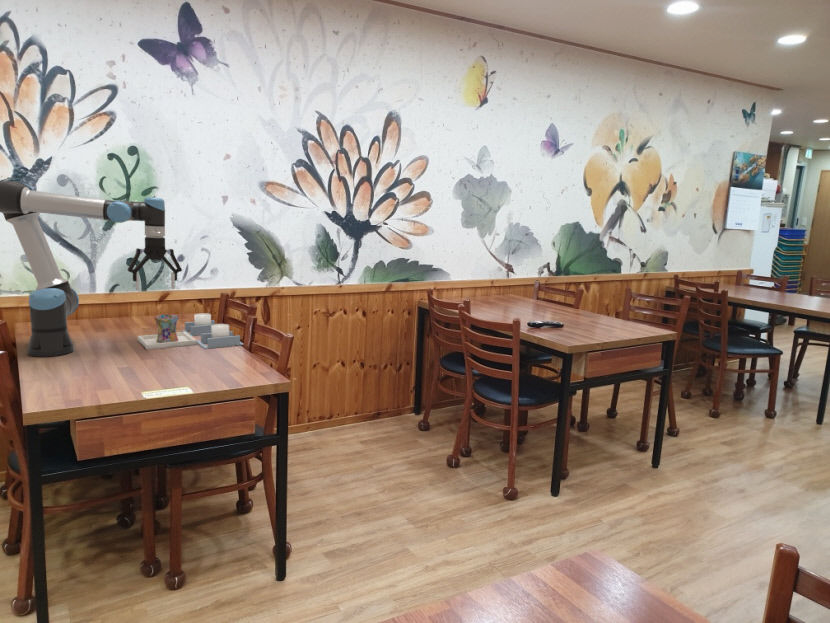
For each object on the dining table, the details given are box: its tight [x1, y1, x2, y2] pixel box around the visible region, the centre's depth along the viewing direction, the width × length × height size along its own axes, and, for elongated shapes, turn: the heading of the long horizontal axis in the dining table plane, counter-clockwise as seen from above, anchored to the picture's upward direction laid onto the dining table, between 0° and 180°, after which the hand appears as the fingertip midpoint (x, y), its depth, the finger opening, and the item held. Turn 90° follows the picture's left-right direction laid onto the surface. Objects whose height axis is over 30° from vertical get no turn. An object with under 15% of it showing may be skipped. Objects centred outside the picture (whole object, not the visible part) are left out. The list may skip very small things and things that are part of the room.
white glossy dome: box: [193, 312, 212, 326], centre depth 272 cm, size 7×7×8 cm
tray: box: [137, 331, 197, 351], centre depth 251 cm, size 19×17×2 cm
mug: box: [153, 314, 179, 343], centre depth 250 cm, size 12×9×11 cm
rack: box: [181, 319, 244, 350], centre depth 263 cm, size 16×35×4 cm, turn 35°
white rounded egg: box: [211, 323, 230, 338], centre depth 252 cm, size 7×7×8 cm
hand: (155, 289), depth 248 cm, fingers open, 13 cm apart
